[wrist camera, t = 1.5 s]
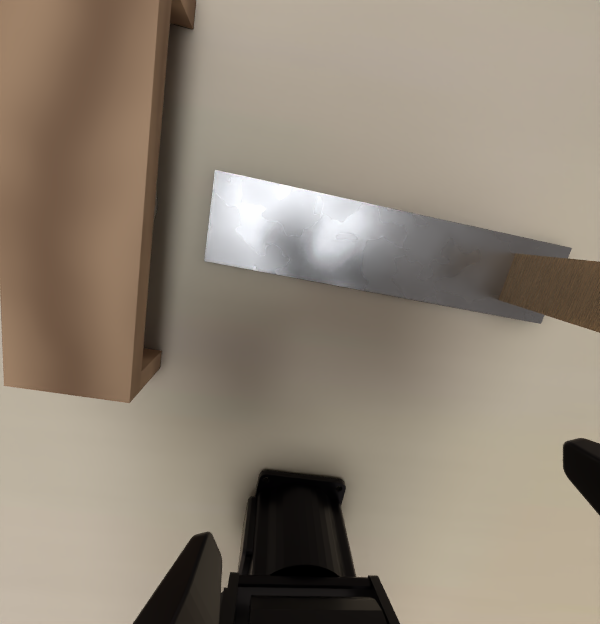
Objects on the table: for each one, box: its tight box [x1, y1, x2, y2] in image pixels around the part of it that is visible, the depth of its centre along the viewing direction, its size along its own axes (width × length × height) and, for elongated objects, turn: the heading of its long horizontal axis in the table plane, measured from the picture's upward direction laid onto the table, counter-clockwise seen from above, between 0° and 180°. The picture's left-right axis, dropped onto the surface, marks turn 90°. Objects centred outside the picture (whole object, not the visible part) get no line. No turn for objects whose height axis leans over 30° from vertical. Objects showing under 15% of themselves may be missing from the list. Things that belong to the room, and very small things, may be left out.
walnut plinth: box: [0, 0, 196, 403], centre depth 15 cm, size 6×20×4 cm, turn 168°
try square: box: [204, 170, 600, 333], centre depth 15 cm, size 22×5×9 cm, turn 79°
